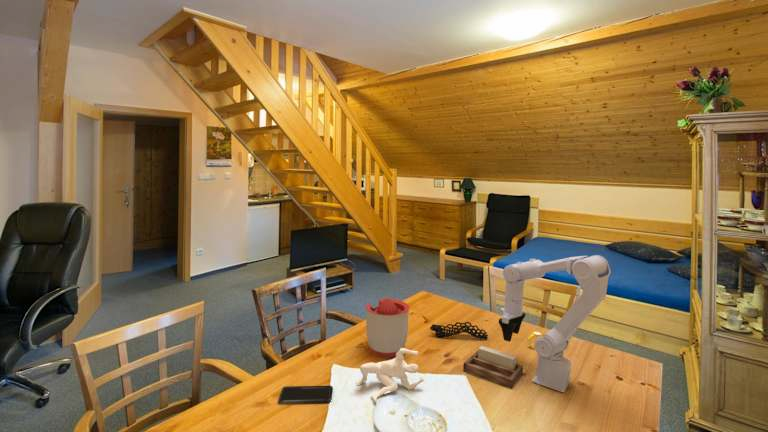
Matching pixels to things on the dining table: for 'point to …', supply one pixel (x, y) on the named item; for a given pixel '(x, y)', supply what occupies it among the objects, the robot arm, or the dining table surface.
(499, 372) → the rack
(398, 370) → the person figurine
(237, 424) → the dining table surface
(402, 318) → the citrus juicer
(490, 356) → the clay strip
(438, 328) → the decorative element
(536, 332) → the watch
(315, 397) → the phone
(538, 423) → the dining table surface
